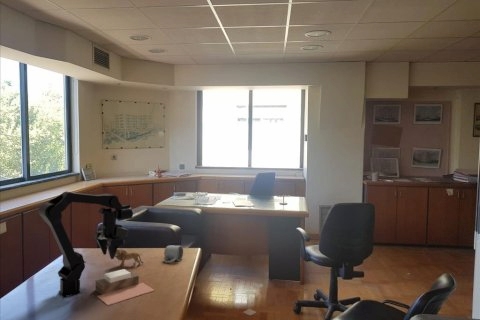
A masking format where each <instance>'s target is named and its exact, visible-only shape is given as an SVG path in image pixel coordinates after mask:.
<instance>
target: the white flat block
mask: <svg viewBox="0 0 480 320" xmlns="http://www.w3.org/2000/svg"><path fill="white" fill-rule="evenodd" d="M103 274H104V275H103V278H104V279H105V280H107V281H108V282H110V283H112V282H116V281H120V280H123V279H127V278H130V277H131V273H130V271H128V270H127V269H125V268H123V269H119V270H118V269H117V270H114V271H111V272H107V273H103Z"/></svg>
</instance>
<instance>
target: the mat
mask: <svg viewBox="0 0 480 320" xmlns="http://www.w3.org/2000/svg"><path fill="white" fill-rule="evenodd" d="M151 292H155V289H153V288H152V287H150V286H149V285H147V284H145V283H144V282H141V283H139V284H137V285H133V286H130V287H127V288H123V289H120V290H116V291H113V292H110V293H106V294H103V295H101V294H100V295H97V298H98V299H99V300H100V301H102V302H103V303H104V304H105V305H106V306H112V305H114V304H117V303H120V302H124V301H126V300H130V299H133V298H137V297H140V296H142V295H146V294H149V293H151Z"/></svg>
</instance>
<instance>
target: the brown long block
mask: <svg viewBox="0 0 480 320" xmlns="http://www.w3.org/2000/svg"><path fill="white" fill-rule="evenodd" d="M129 272H130V273H131V277H130V278H127V279H123V280H120V281H116V282H112V283H110V282H108V281H107V280H105V279H104V277H103V278H99V279H96V280H95V282H94V283H95V292H98V293H99V294H100V295H103V294H106V293H110V292H113V291H116V290H120V289H123V288H127V287H130V286H133V285H137V284H140V283H139V281H140V280H139V279H140V278H139V277H140V276H139V275H138V274H137V273H135V272H134V271H132V270H130V271H129Z"/></svg>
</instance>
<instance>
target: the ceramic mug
mask: <svg viewBox="0 0 480 320" xmlns="http://www.w3.org/2000/svg"><path fill="white" fill-rule="evenodd" d="M163 255H164V257H163V259H164V260H163V261H164V262H165V263H166V264H172V263H174V262H175V261H176V262H177V261H178V262H180V261H181V260H183V255H184V248H183V246H182V245H172V244H171V245H170V244H169V245H167V246H166V247H165V249H164V253H163ZM166 259H167V260H166Z"/></svg>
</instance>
